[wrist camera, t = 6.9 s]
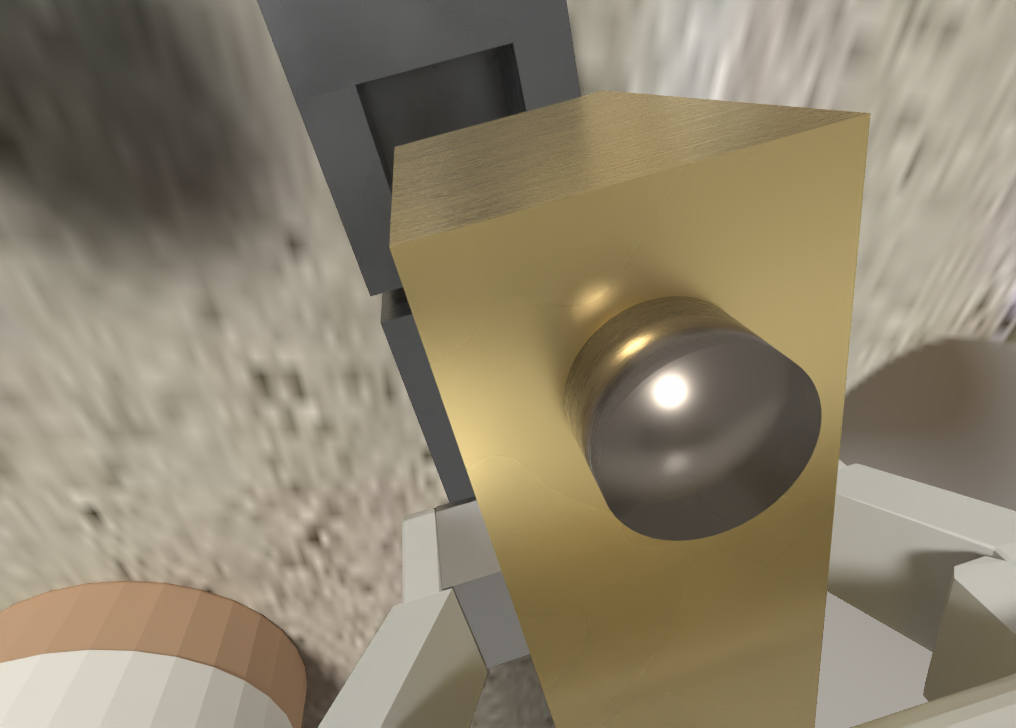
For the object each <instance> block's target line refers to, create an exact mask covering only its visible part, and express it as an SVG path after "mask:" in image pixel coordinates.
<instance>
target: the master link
mask: <svg viewBox="0 0 1016 728" xmlns="http://www.w3.org/2000/svg"><path fill="white" fill-rule="evenodd" d="M869 123H870V113H861V112H849V111H837V110H826V109H814V108H802V107H790V106H779V105H767V104H755V103H743V102H731V101H720V100H708V99H696V98H684V97H673V96H661V95H649V94H637V93H626V92H614V91H600V92H596V93H592V94H589V95H585V96H581V97H578V98H574V99H570V100H567V101H563V102H559V103H555V104H552V105H548V106H544V107H541V108H537V109H533V110H530V111H526V112H522V113H518V114H515V115H511V116H507V117H504V118H500V119H496V120H493V121H489V122H485V123H482V124H478V125H474V126H470V127H467V128H463V129H459V130H456V131H452V132H448V133H445V134H441V135H437V136H433V137H430V138H426V139H422V140H419V141H415V142H411V143H408V144H404V145H400V146H396V147H395V149H394V168H393V187H392V206H391V225H390V244H389V248H390V251H391V254H392V256H393V259H394V262H395V265H396V268H397V271H398V274H399V277H400V279H401V282H402V285H403V288H404V291H405V294H406V297H407V300H408V303H409V305H410V308H411V311H412V314H413V317H414V320H415V323H416V326H417V329H418V331H419V334H420V337H421V340H422V343H423V346H424V349H425V352H426V355H427V357H428V360H429V363H430V366H431V369H432V372H433V375H434V378H435V381H436V383H437V386H438V389H439V392H440V395H441V398H442V401H443V404H444V407H445V409H446V412H447V415H448V418H449V421H450V424H451V427H452V430H453V433H454V435H455V438H456V441H457V444H458V447H459V450H460V453H461V456H462V459H463V461H464V464H465V467H466V470H467V473H468V476H469V479H470V482H471V484H472V487H473V490H474V493H475V496H476V499H477V502H478V505H479V508H480V510H481V513H482V516H483V519H484V522H485V525H486V528H487V531H488V534H489V536H490V539H491V542H492V545H493V548H494V551H495V554H496V557H497V560H498V562H499V565H500V568H501V571H502V574H503V577H504V580H505V583H506V586H507V588H508V591H509V594H510V597H511V600H512V603H513V606H514V609H515V612H516V614H517V617H518V620H519V623H520V626H521V629H522V632H523V635H524V638H525V640H526V643H527V646H528V649H529V652H530V655H531V658H532V661H533V663H534V666H535V669H536V672H537V675H538V678H539V681H540V684H541V687H542V689H543V692H544V695H545V698H546V701H547V704H548V707H549V710H550V713H551V715H552V718H553V721H554V724H555V727H556V728H814V727H815V716H816V704H817V694H818V683H819V671H820V661H821V650H822V639H823V628H824V617H825V605H826V595H827V584H828V573H829V562H830V551H831V540H832V529H833V518H834V507H835V496H836V485H837V474H838V463H839V452H840V441H841V430H842V419H843V409H844V398H845V387H846V376H847V365H848V354H849V343H850V332H851V321H852V310H853V299H854V288H855V277H856V266H857V255H858V244H859V233H860V222H861V211H862V200H863V189H864V178H865V167H866V156H867V145H868V134H869Z"/></svg>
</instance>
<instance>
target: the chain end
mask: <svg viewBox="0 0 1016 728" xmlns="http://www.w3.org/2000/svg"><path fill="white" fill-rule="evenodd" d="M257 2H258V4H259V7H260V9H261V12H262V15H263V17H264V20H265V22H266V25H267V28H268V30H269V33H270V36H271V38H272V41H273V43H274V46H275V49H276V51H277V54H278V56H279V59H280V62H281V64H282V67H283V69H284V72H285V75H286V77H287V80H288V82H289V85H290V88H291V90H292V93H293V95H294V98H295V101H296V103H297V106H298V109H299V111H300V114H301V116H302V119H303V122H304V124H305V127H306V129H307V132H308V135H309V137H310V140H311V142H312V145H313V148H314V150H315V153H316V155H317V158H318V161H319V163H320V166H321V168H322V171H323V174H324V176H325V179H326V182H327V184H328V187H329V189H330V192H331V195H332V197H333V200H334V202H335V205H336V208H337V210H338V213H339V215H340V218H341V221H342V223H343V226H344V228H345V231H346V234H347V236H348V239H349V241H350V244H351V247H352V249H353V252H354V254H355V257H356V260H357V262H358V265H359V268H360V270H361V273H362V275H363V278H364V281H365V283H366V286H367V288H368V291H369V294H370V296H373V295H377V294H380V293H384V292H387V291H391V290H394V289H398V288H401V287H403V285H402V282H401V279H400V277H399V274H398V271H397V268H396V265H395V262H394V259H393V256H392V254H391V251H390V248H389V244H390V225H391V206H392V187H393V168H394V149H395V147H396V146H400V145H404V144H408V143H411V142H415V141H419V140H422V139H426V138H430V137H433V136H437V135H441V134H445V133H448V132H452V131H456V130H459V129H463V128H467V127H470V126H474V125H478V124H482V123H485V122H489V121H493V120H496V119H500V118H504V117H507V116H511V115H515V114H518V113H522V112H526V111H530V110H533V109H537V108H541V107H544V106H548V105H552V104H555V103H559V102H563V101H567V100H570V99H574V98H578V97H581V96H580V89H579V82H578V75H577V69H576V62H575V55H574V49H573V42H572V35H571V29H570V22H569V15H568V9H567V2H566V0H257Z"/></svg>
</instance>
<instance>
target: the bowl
mask: <svg viewBox="0 0 1016 728" xmlns="http://www.w3.org/2000/svg"><path fill="white" fill-rule="evenodd" d="M306 691H307V680H306V671H305V666H304V663H303V661H302V659H301V657H300V655H299V652H298V650H297V648H296V647H295V645H294V644H293V643H292V642H291V641H290V639H289V638H288V637H287V636H286V635H285V633H284V632H283V631H282V630H281V629H280V628H278V627H277V626H276V625H274V624H273V623H272V622H271V621H269V620H268V619H267V618H265V617H264V616H263V615H261V614H260V613H258V612H256V611H254V610H252V609H250V608H248V607H246V606H244V605H242V604H240V603H238V602H236V601H234V600H231V599H228V598H225V597H222V596H219V595H216V594H213V593H210V592H207V591H204V590H201V589H195V588H190V587H184V586H179V585H174V584H168V583H157V582H139V581H117V582H102V583H88V584H83V585H78V586H73V587H68V588H63V589H58V590H53V591H49V592H46V593H44V594H41V595H38V596H35V597H33V598H30V599H27V600H24V601H22V602H19V603H16V604H14V605H13V606H11V607H9V608H8V609H6V610H4V611H2V612H1V613H0V728H301V726H302V719H303V712H304V705H305V698H306Z"/></svg>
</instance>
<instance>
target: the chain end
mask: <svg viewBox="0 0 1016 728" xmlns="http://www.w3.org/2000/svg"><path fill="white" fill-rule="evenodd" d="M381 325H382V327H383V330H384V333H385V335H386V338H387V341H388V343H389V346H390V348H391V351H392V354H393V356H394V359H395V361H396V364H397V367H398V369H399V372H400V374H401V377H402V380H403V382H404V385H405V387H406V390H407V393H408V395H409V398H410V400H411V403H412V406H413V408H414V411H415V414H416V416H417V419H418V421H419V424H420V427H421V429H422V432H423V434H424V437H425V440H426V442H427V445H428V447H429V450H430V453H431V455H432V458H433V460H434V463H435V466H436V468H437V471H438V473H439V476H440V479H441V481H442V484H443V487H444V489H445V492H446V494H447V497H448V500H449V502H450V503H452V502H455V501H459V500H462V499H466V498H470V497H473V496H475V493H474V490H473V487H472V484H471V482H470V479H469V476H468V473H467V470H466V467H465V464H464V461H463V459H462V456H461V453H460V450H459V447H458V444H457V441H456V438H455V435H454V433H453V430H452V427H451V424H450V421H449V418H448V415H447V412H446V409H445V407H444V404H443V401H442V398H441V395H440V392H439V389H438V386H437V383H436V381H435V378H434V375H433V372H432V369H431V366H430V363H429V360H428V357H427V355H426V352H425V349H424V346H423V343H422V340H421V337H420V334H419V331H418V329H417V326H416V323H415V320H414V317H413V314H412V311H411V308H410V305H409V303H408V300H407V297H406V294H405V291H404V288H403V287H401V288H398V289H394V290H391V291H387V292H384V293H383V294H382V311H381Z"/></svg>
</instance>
